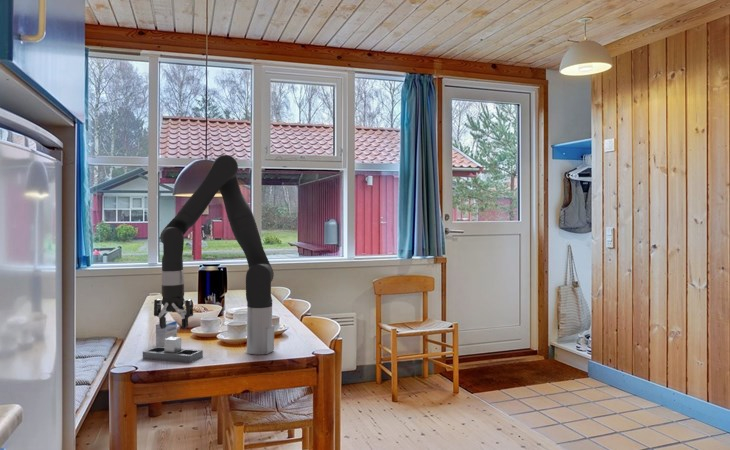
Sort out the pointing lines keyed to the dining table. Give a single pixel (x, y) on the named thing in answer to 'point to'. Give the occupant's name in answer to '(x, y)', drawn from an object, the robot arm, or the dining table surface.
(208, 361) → the dining table surface
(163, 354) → the grey compartment tray
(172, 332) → the medicine box
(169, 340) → the light grey block
